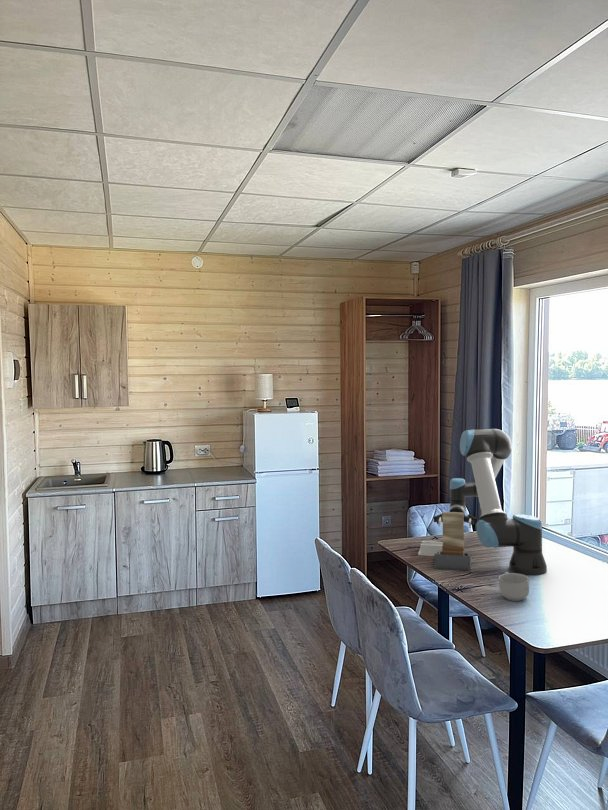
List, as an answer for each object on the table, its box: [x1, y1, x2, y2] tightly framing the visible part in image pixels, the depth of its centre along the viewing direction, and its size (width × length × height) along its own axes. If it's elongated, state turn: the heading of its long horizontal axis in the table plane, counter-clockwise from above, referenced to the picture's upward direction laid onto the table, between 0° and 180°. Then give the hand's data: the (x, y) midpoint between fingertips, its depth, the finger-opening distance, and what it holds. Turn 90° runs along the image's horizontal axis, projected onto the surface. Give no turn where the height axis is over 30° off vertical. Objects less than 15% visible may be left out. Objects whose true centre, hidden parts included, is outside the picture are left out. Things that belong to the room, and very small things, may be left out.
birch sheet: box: [441, 511, 465, 547], centre depth 268 cm, size 2×9×22 cm, turn 73°
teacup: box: [498, 571, 530, 602], centre depth 229 cm, size 14×11×8 cm
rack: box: [433, 551, 472, 572], centre depth 265 cm, size 15×15×8 cm
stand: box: [417, 540, 443, 557], centre depth 283 cm, size 10×14×6 cm
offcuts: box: [442, 545, 465, 555], centre depth 262 cm, size 6×9×8 cm
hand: (454, 524), depth 277 cm, fingers open, 13 cm apart
